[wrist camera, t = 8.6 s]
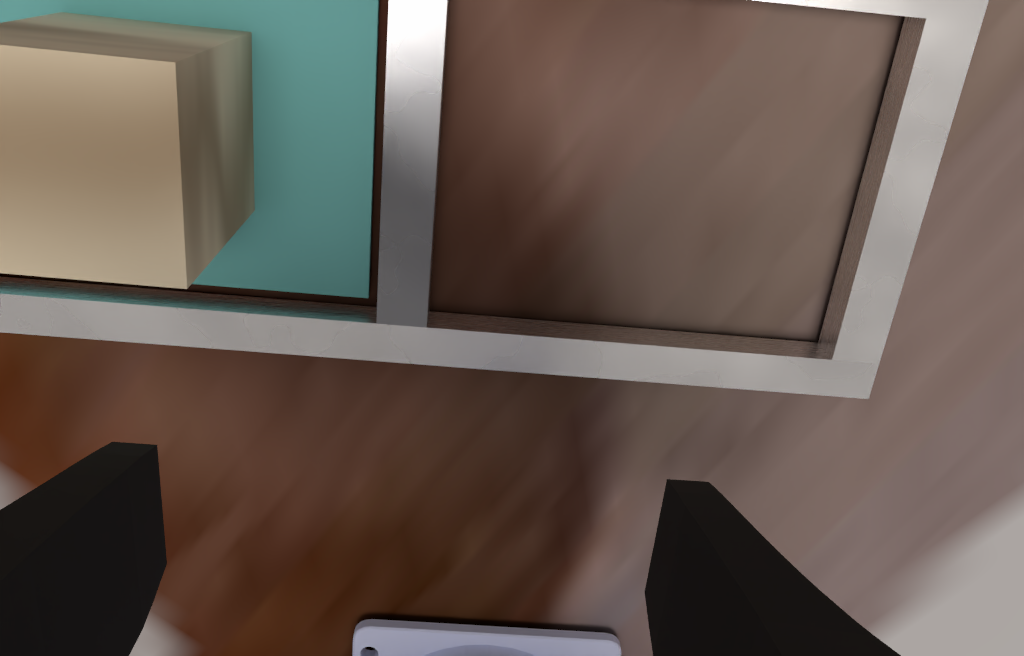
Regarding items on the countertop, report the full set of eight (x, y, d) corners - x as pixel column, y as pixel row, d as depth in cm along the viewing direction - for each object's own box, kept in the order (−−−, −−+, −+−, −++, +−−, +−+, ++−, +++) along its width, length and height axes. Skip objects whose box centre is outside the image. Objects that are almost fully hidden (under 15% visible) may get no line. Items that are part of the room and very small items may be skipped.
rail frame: (853, 380, 23) (868, 399, 22) (-78, 307, 21) (-103, 324, 21) (972, -29, 19) (997, -27, 18) (-166, -152, 17) (-203, -158, 16)
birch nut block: (254, 210, 20) (187, 289, 16) (79, 194, 20) (-40, 269, 16) (251, 32, 19) (175, 62, 14) (61, 11, 19) (-79, 37, 14)
